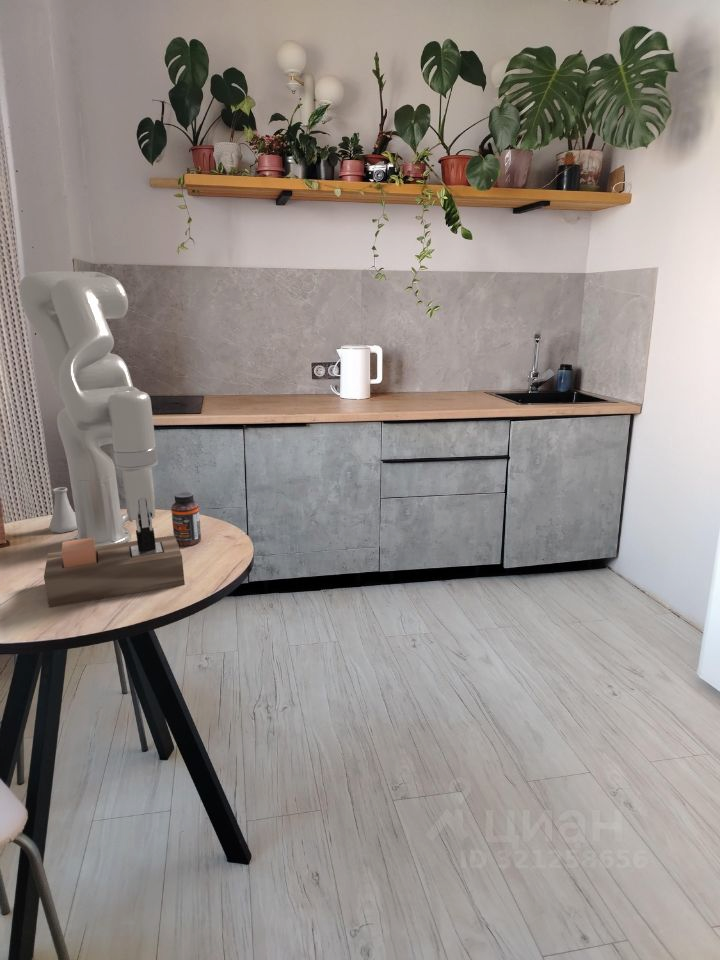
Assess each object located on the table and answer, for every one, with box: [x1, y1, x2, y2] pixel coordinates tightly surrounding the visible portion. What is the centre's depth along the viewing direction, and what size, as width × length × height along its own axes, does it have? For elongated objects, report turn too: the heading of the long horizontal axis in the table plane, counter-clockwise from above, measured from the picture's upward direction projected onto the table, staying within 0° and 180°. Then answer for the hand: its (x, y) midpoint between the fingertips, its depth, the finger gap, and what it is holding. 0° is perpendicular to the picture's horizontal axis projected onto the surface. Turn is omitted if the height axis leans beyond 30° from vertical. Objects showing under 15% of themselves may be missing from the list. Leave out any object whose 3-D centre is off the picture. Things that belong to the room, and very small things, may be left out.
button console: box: [43, 534, 186, 608], centre depth 129 cm, size 12×24×6 cm, turn 111°
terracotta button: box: [61, 538, 98, 568], centre depth 126 cm, size 6×6×5 cm
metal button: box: [131, 542, 163, 557], centre depth 131 cm, size 6×6×5 cm
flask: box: [48, 486, 77, 534], centre depth 160 cm, size 7×7×10 cm
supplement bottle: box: [170, 491, 202, 547], centre depth 149 cm, size 6×6×11 cm
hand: (147, 549), depth 130 cm, fingers closed
